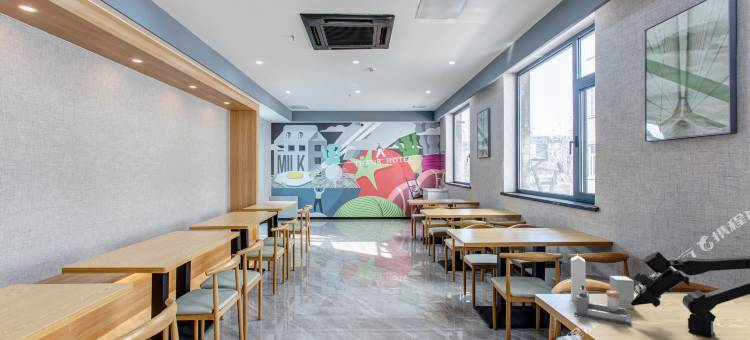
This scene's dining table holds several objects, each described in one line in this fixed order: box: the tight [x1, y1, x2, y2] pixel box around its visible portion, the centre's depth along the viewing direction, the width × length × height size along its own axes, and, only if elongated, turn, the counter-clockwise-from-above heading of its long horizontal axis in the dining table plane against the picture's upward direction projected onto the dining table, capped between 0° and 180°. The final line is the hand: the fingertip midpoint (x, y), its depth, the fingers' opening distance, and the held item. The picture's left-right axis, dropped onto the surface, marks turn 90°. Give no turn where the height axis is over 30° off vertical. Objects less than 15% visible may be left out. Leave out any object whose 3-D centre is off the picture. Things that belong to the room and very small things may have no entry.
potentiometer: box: [579, 285, 588, 296], centre depth 161 cm, size 3×3×4 cm
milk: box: [570, 254, 587, 302], centre depth 179 cm, size 6×6×22 cm
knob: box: [605, 289, 620, 314], centre depth 155 cm, size 5×6×9 cm
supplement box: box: [609, 275, 635, 309], centre depth 170 cm, size 7×7×13 cm
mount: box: [573, 291, 632, 327], centre depth 157 cm, size 20×10×8 cm, turn 57°
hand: (631, 304), depth 151 cm, fingers closed
